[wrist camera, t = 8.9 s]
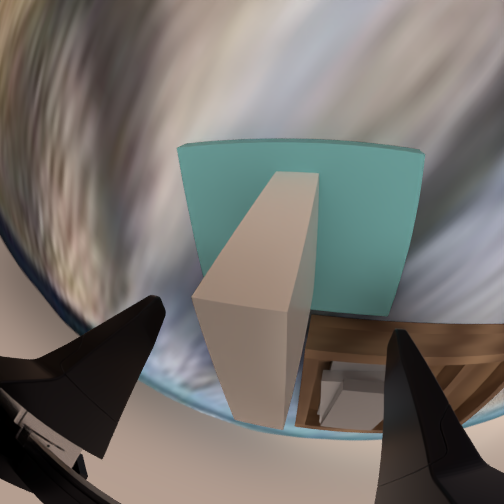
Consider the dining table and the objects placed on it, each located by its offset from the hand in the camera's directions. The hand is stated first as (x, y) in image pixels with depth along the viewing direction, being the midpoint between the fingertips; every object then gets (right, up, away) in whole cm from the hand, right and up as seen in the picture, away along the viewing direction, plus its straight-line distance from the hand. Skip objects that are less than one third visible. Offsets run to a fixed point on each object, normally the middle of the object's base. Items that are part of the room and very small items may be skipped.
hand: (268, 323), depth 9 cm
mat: (+2, +4, +5) cm, 7 cm away
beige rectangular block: (+2, +3, +5) cm, 6 cm away
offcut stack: (+9, -9, +11) cm, 16 cm away
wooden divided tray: (+14, -9, +10) cm, 19 cm away
